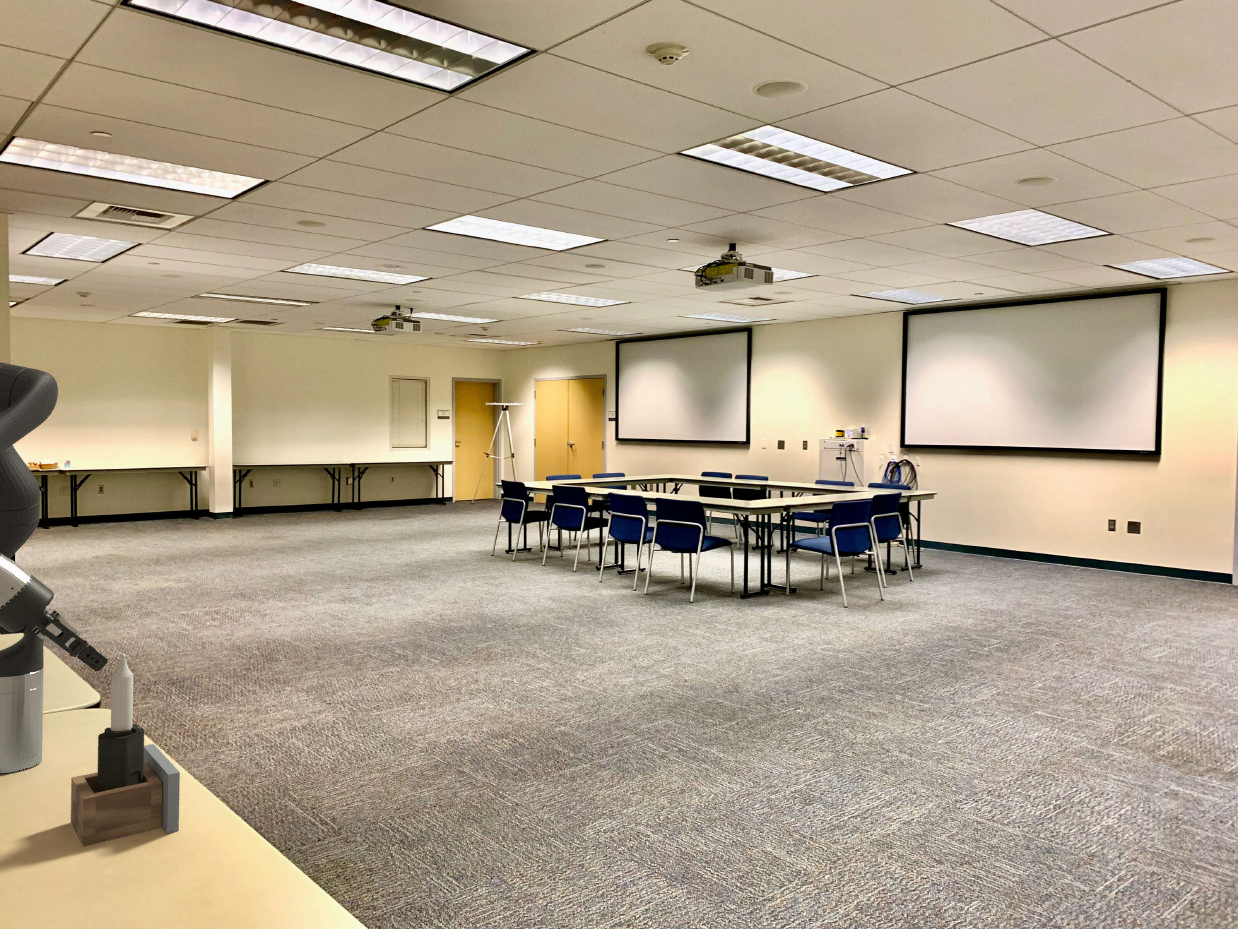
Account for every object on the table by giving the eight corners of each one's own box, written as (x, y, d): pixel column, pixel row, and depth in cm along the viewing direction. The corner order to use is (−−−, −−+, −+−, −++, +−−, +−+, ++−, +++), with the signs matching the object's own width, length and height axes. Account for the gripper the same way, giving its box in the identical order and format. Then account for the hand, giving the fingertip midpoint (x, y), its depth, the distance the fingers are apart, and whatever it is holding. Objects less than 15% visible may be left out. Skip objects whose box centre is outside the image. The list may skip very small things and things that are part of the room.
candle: (121, 822, 130) (124, 658, 130) (93, 818, 131) (95, 656, 131) (146, 809, 135) (149, 651, 135) (119, 805, 136) (121, 649, 136)
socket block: (70, 822, 133) (71, 777, 133) (145, 805, 140) (146, 762, 140) (83, 846, 126) (84, 799, 125) (161, 827, 132) (162, 782, 132)
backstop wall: (141, 799, 142) (142, 745, 142) (152, 797, 143) (153, 743, 143) (167, 833, 130) (168, 774, 130) (178, 830, 131) (179, 772, 131)
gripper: (37, 578, 119) (128, 649, 127) (21, 567, 130) (106, 633, 138) (-11, 620, 116) (86, 691, 124) (-23, 605, 126) (67, 671, 134)
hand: (96, 660), depth 131 cm, fingers open, 8 cm apart
